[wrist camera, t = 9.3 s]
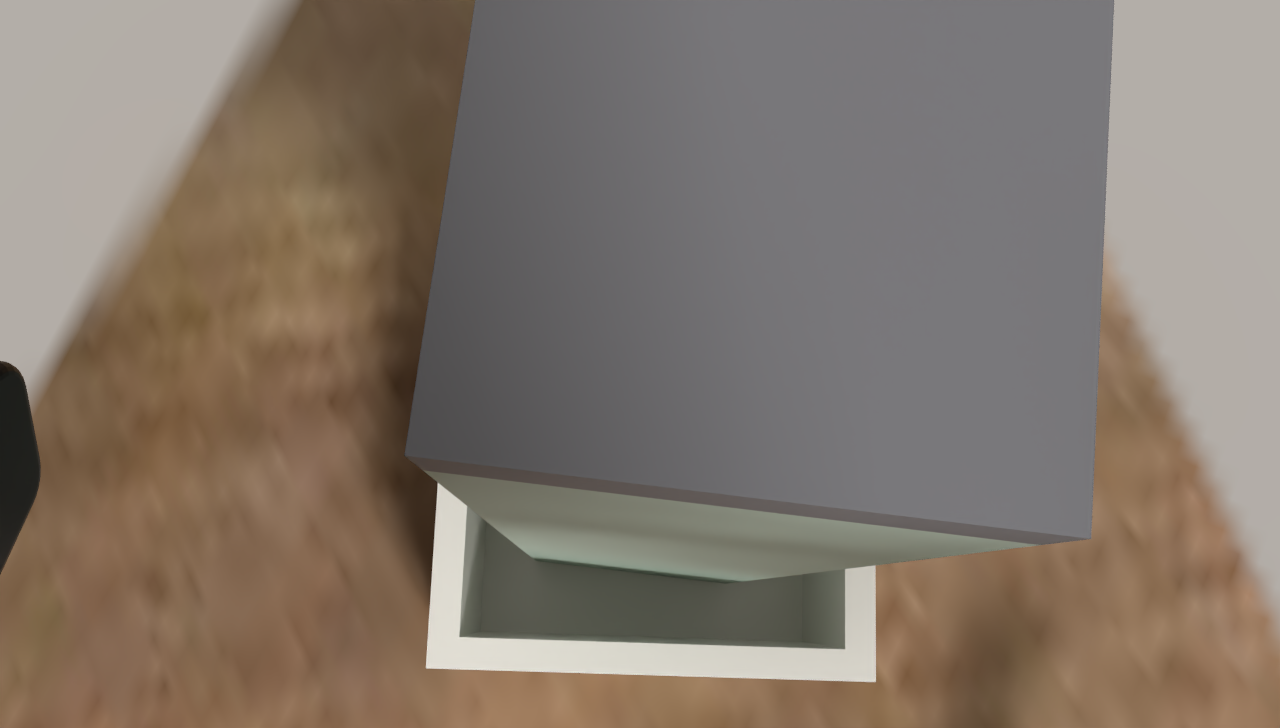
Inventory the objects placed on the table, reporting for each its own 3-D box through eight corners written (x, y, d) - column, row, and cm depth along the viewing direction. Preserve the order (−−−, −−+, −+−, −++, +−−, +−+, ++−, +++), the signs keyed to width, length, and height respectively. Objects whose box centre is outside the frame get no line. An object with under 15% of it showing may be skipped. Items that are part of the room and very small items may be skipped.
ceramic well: (819, 666, 19) (876, 681, 16) (457, 655, 19) (426, 667, 15) (821, 314, 21) (874, 250, 17) (478, 300, 20) (453, 232, 17)
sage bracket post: (725, 583, 19) (1090, 541, 5) (535, 561, 19) (404, 457, 5) (745, 396, 20) (1119, -83, 6) (560, 373, 20) (499, -165, 6)
